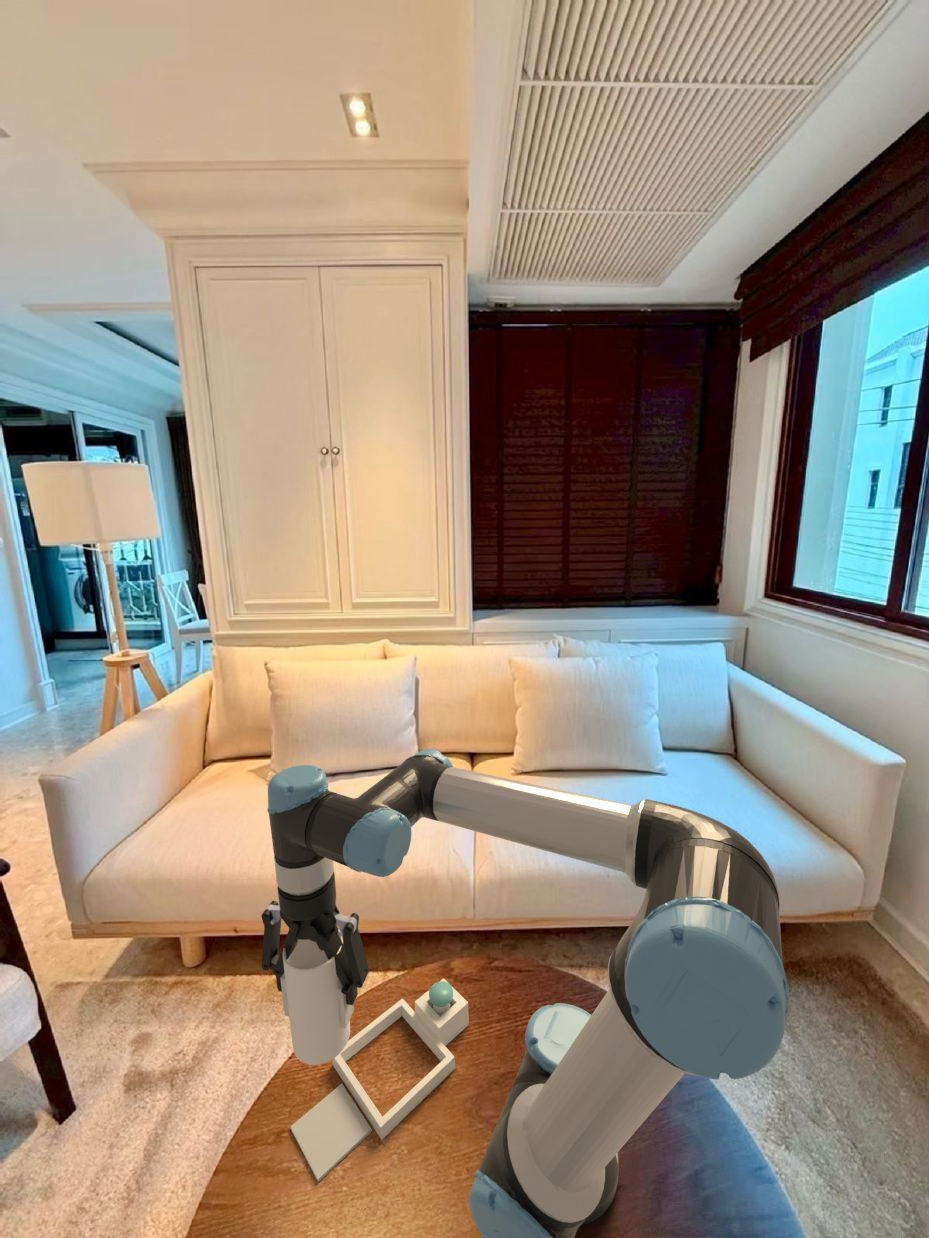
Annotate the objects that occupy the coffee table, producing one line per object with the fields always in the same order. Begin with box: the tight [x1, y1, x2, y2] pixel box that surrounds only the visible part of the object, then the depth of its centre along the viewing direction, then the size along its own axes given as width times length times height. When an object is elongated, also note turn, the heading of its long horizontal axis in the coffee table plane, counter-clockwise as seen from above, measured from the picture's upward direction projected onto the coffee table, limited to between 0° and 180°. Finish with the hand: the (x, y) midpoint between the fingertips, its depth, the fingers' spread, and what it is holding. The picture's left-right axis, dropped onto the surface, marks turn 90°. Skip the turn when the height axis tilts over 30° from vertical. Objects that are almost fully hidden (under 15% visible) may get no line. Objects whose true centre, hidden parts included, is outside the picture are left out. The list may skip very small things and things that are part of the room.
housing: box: [331, 978, 470, 1141], centre depth 92 cm, size 15×22×5 cm
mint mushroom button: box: [428, 980, 454, 1016], centre depth 96 cm, size 4×4×5 cm
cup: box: [282, 928, 351, 1066], centre depth 75 cm, size 8×8×16 cm
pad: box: [290, 1083, 372, 1183], centre depth 81 cm, size 9×9×1 cm
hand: (319, 1012), depth 76 cm, fingers closed on cup, 8 cm apart
